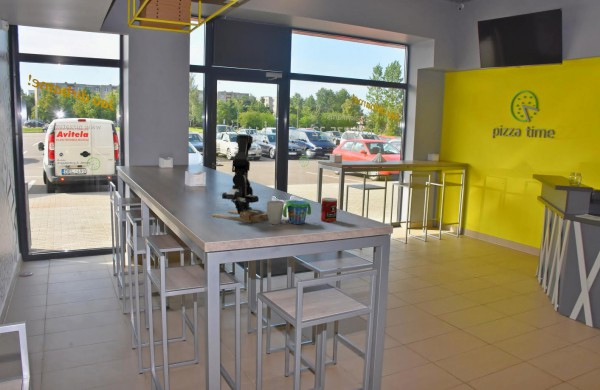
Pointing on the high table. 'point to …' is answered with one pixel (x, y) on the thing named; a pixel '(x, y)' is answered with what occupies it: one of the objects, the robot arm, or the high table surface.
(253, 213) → the crate
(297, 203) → the snack cup
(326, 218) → the canned food
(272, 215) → the cup
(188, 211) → the high table surface
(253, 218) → the light brown long piece
